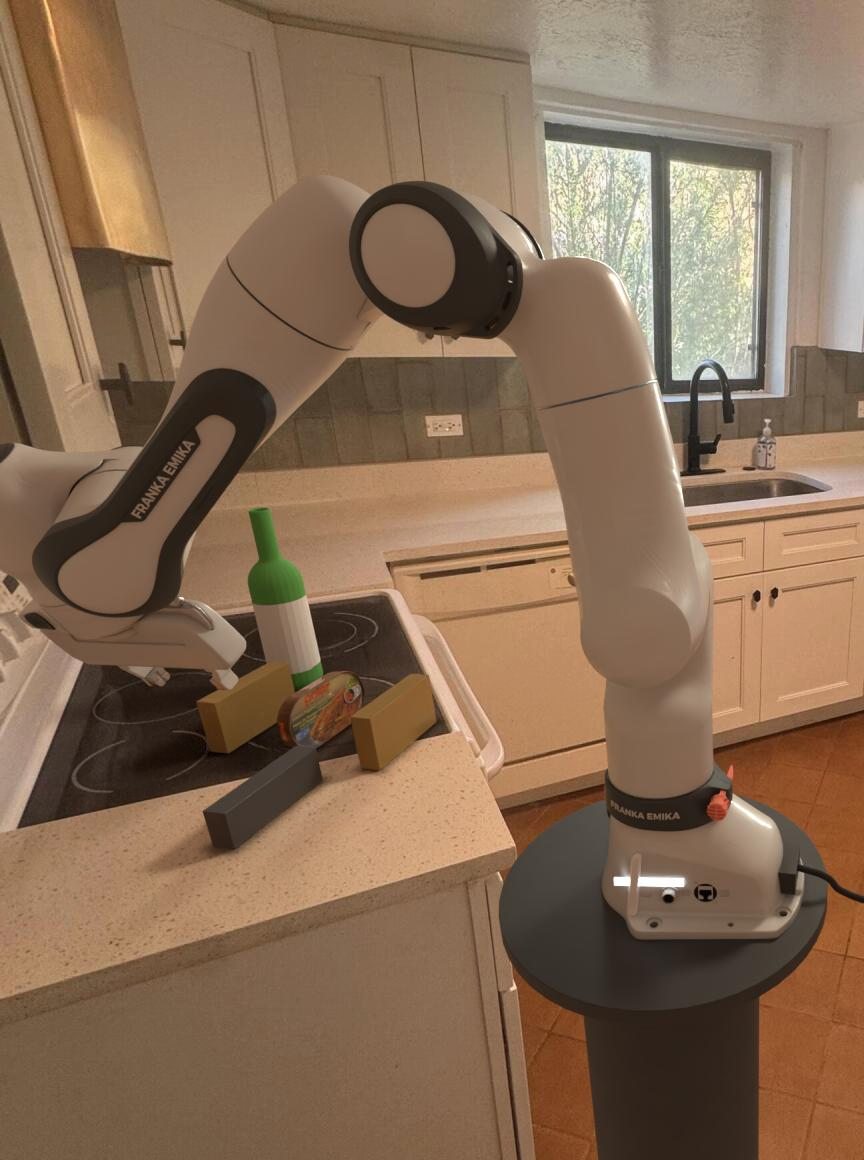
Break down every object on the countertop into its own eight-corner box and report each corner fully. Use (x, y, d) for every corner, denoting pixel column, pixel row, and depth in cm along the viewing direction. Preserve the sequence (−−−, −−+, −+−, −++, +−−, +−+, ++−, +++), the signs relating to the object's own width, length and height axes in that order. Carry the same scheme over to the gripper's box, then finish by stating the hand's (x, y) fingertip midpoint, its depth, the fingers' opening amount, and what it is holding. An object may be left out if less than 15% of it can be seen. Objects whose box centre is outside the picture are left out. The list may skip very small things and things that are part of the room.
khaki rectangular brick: (436, 722, 120) (429, 674, 117) (380, 770, 107) (369, 718, 104) (419, 720, 120) (410, 673, 117) (360, 768, 107) (349, 716, 104)
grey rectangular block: (323, 780, 105) (316, 747, 103) (234, 850, 91) (224, 813, 89) (303, 777, 105) (296, 745, 103) (212, 847, 91) (201, 811, 90)
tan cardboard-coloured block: (298, 708, 124) (288, 662, 121) (228, 753, 111) (214, 703, 108) (282, 706, 124) (271, 661, 121) (210, 751, 111) (195, 701, 109)
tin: (299, 761, 109) (286, 707, 106) (280, 758, 110) (267, 704, 107) (370, 711, 123) (361, 662, 120) (353, 709, 123) (343, 660, 120)
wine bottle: (333, 674, 136) (298, 504, 125) (307, 694, 128) (266, 515, 118) (290, 673, 136) (251, 503, 125) (262, 693, 129) (217, 515, 118)
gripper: (210, 575, 78) (288, 665, 88) (52, 574, 83) (143, 659, 92) (168, 621, 74) (255, 710, 84) (4, 617, 78) (104, 701, 88)
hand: (195, 683), depth 88 cm, fingers open, 8 cm apart
